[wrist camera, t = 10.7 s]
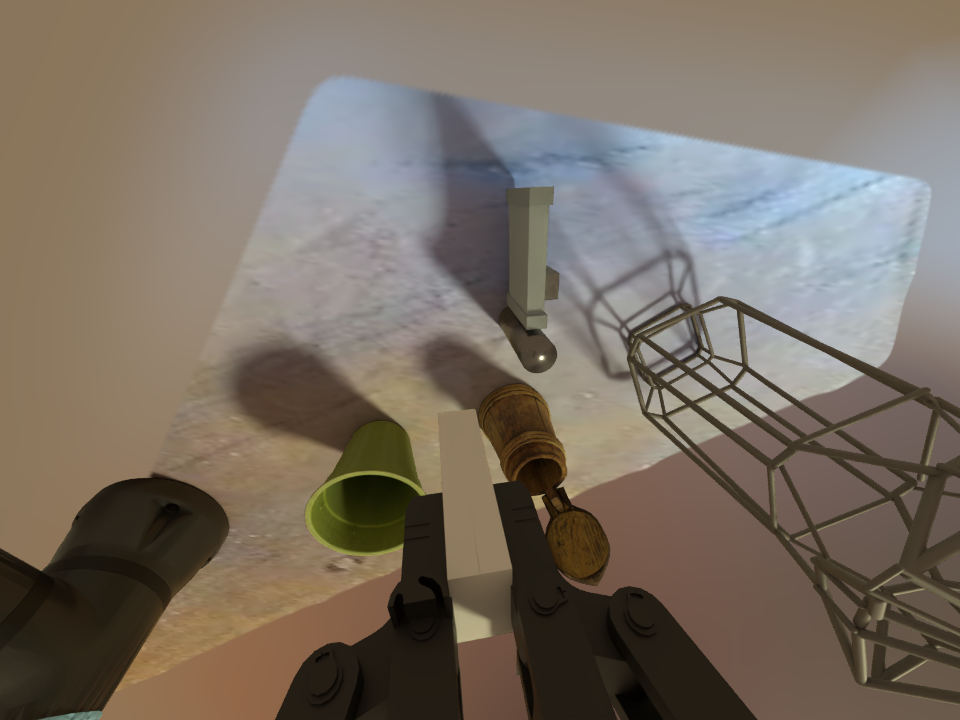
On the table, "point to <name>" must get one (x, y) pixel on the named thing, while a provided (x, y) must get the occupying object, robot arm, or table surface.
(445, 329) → the table surface
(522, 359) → the hinge post
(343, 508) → the plant pot
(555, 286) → the block
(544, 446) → the wooden mug
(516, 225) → the grey-green flanged panel
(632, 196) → the table surface
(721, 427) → the geometric lantern
